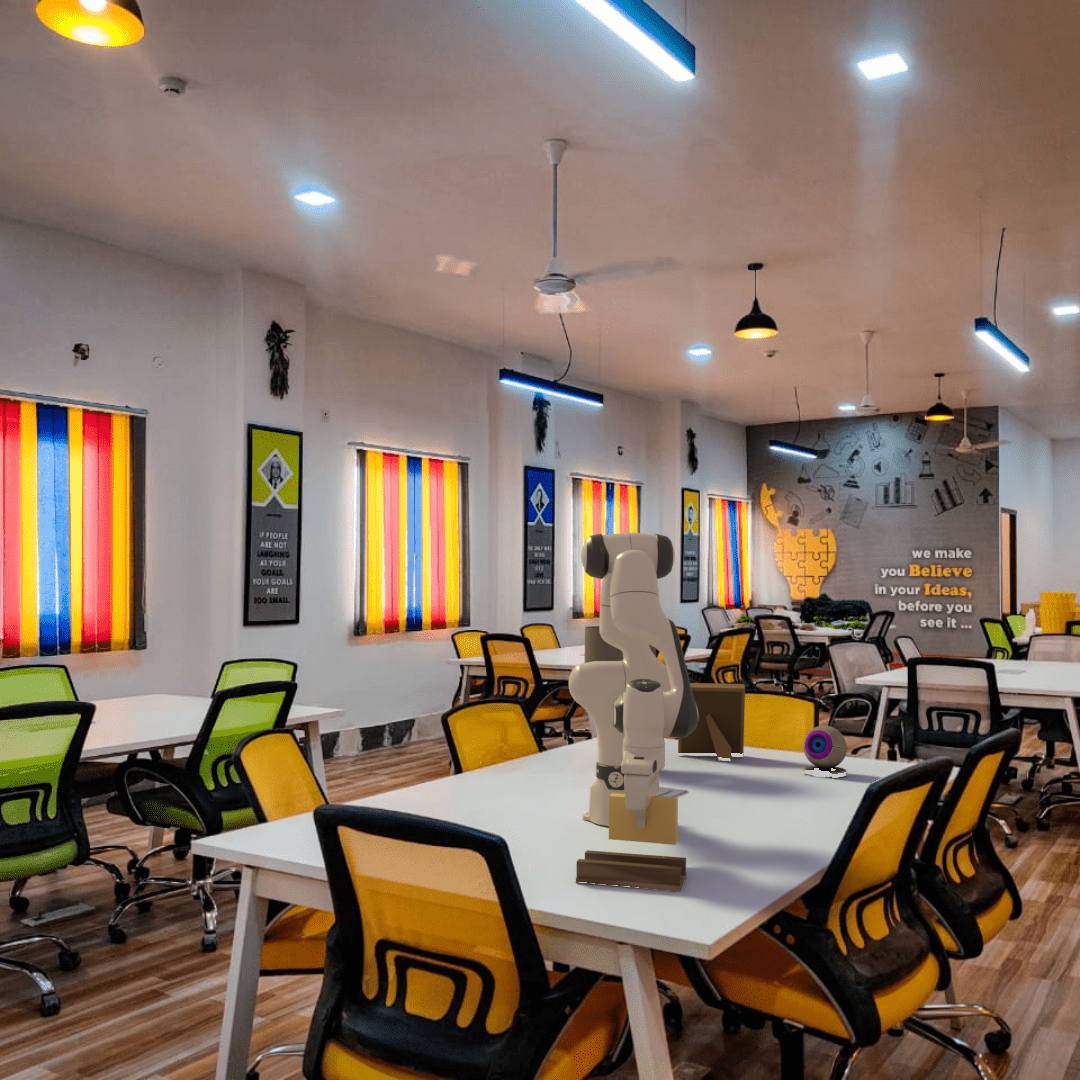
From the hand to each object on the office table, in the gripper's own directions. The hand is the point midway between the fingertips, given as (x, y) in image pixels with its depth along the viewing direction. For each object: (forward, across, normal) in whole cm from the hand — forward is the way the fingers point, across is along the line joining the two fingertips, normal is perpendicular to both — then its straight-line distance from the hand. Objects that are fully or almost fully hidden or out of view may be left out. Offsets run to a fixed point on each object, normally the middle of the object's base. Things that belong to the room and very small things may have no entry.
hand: (643, 824), depth 218 cm
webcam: (+11, -118, +36) cm, 124 cm away
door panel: (+3, 0, 0) cm, 3 cm away
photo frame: (+12, -138, -1) cm, 139 cm away
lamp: (+11, -111, -27) cm, 115 cm away
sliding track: (+7, +15, 0) cm, 17 cm away
